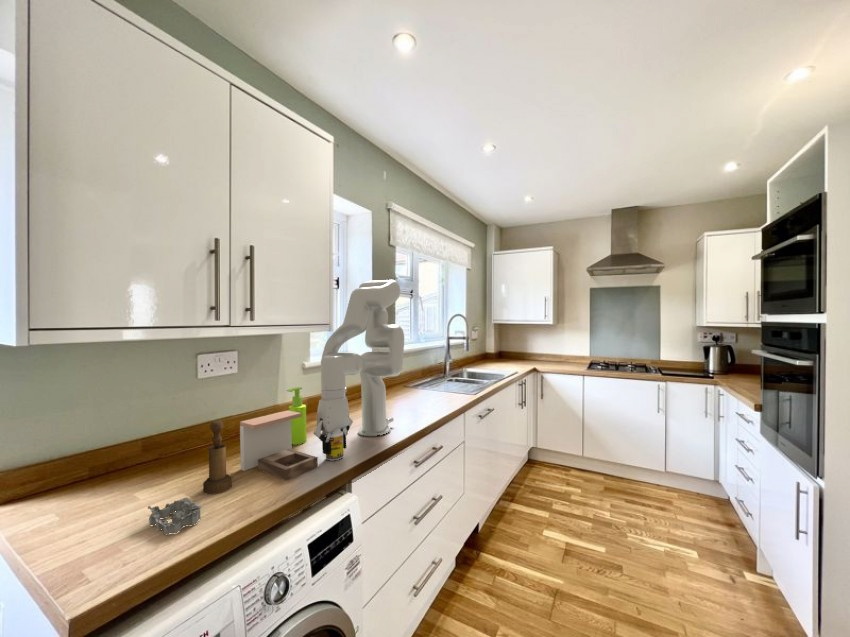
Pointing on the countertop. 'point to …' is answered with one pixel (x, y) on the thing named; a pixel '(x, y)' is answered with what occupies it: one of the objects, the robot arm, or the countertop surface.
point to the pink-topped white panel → (265, 437)
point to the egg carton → (175, 515)
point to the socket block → (281, 460)
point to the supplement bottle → (336, 445)
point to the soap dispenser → (298, 423)
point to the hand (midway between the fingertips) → (334, 450)
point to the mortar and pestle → (217, 464)
